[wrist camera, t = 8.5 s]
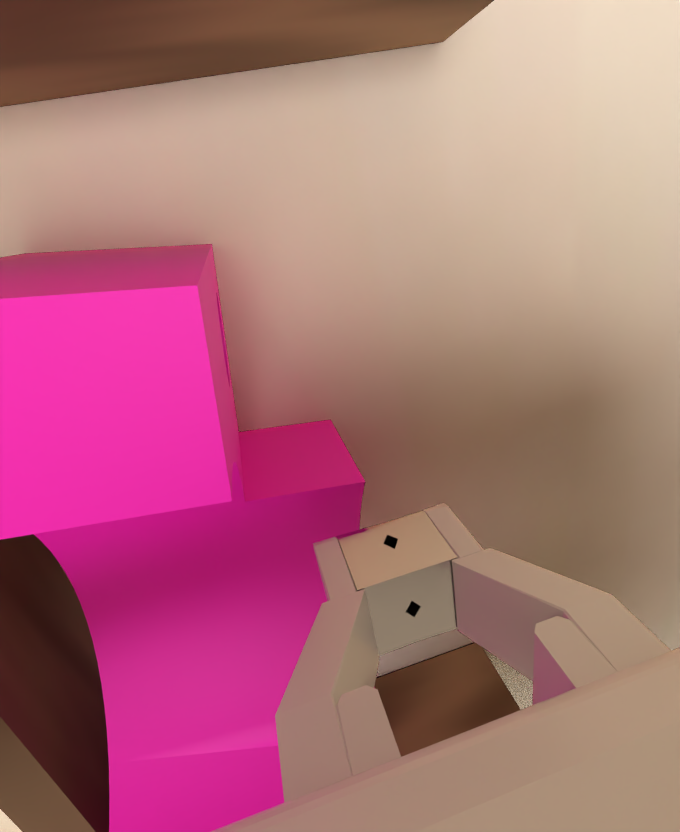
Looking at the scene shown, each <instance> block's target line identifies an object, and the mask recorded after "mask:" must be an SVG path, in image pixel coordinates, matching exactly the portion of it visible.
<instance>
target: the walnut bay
mask: <svg viewBox="0 0 680 832" xmlns="http://www.w3.org/2000/svg"><path fill="white" fill-rule="evenodd" d="M493 1H494V0H0V106H7V105H14V104H21V103H27V102H34V101H41V100H48V99H55V98H62V97H69V96H75V95H82V94H89V93H96V92H103V91H110V90H116V89H123V88H130V87H137V86H144V85H151V84H157V83H164V82H171V81H178V80H185V79H192V78H198V77H205V76H212V75H219V74H226V73H233V72H240V71H246V70H253V69H260V68H267V67H274V66H281V65H287V64H294V63H301V62H308V61H315V60H322V59H328V58H335V57H342V56H349V55H356V54H363V53H369V52H376V51H383V50H390V49H397V48H404V47H410V46H417V45H424V44H431V43H438V42H443V41H444V40H446V39H447V38H448V37H449V36H451V35H452V34H453V33H454V32H456V31H457V30H458V29H459V28H460V27H462V26H463V25H464V24H465V23H467V22H468V21H469V20H470V19H472V18H473V17H474V16H475V15H476V14H478V13H479V12H480V11H481V10H483V9H484V8H485V7H486V6H488V5H489V4H490V3H491V2H493ZM374 687H375V689H378V692H379V695H380V698H381V701H382V704H383V707H384V709H385V712H386V715H387V718H388V721H389V724H390V727H391V729H392V732H393V735H394V738H395V741H396V744H397V746H398V749H399V752H400V755H401V757H402V756H405V755H407V754H410V753H412V752H415V751H417V750H420V749H422V748H425V747H428V746H430V745H433V744H435V743H438V742H440V741H443V740H445V739H448V738H451V737H453V736H456V735H458V734H461V733H463V732H466V731H468V730H471V729H474V728H476V727H479V726H481V725H484V724H486V723H489V722H491V721H494V720H496V719H499V718H502V717H504V716H507V715H509V714H512V713H514V712H517V711H519V710H520V708H519V706H518V705H517V703H516V702H515V700H514V698H513V697H512V695H511V693H510V692H509V690H508V689H507V687H506V685H505V684H504V682H503V680H502V679H501V677H500V676H499V674H498V672H497V671H496V669H495V667H494V666H493V664H492V663H491V661H490V659H489V658H488V656H487V654H486V653H485V651H484V650H483V648H482V647H481V646H480V645H478V644H477V643H473V644H471V645H468V646H465V647H462V648H459V649H457V650H454V651H451V652H448V653H446V654H443V655H440V656H437V657H435V658H432V659H429V660H426V661H423V662H421V663H418V664H415V665H412V666H410V667H407V668H404V669H401V670H399V671H396V672H393V673H390V674H387V675H385V676H382V677H379V678H376V680H375V686H374ZM0 809H1V810H2V811H3V812H4V813H5V814H6V815H7V816H8V817H9V818H10V819H11V820H12V821H13V822H14V823H15V824H16V825H17V826H18V827H19V829H20V830H21V831H22V832H109V759H108V742H107V728H106V717H105V707H104V700H103V692H102V685H101V679H100V674H99V668H98V662H97V658H96V654H95V649H94V645H93V641H92V637H91V634H90V630H89V627H88V623H87V620H86V617H85V615H84V612H83V609H82V606H81V604H80V601H79V599H78V597H77V594H76V592H75V590H74V588H73V586H72V584H71V583H70V581H69V579H68V578H67V576H66V574H65V572H64V571H63V569H62V567H61V566H60V564H59V562H58V561H57V559H56V558H55V556H54V555H53V554H52V552H51V551H50V550H49V549H48V548H47V547H46V546H45V545H44V544H43V543H42V541H41V540H40V539H39V538H37V537H36V536H35V535H34V534H31V535H25V536H19V537H13V538H7V539H1V540H0Z"/></svg>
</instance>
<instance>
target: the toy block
mask: <svg viewBox="0 0 680 832" xmlns="http://www.w3.org/2000/svg"><path fill="white" fill-rule="evenodd" d="M364 485H365V480H364V478H363V477H362V475H361V473H360V471H359V469H358V468H357V466H356V464H355V462H354V461H353V459H352V457H351V455H350V453H349V452H348V450H347V448H346V446H345V444H344V443H343V441H342V439H341V437H340V436H339V434H338V432H337V430H336V428H335V427H334V425H333V423H332V421H331V420H324V421H316V422H309V423H301V424H294V425H287V426H279V427H272V428H264V429H257V430H250V431H242V432H239V430H238V423H237V416H236V409H235V402H234V395H233V389H232V382H231V375H230V368H229V361H228V354H227V347H226V340H225V333H224V326H223V319H222V312H221V305H220V298H219V291H218V284H217V277H216V270H215V263H214V256H213V249H212V244H203V245H183V246H164V247H144V248H124V249H104V250H85V251H65V252H45V253H25V254H19V255H13V256H7V257H1V258H0V540H1V539H7V538H13V537H19V536H25V535H31V534H34V535H35V536H36V537H37V538H39V539H40V540H41V541H42V543H43V544H44V545H45V546H46V547H47V548H48V549H49V550H50V551H51V552H52V554H53V555H54V556H55V558H56V559H57V561H58V562H59V563H60V565H61V566H62V568H63V569H64V571H65V573H66V575H67V576H68V578H69V580H70V582H71V583H72V586H73V588H74V590H75V592H76V594H77V597H78V599H79V601H80V604H81V606H82V609H83V612H84V615H85V617H86V620H87V623H88V627H89V630H90V634H91V637H92V641H93V645H94V649H95V654H96V658H97V662H98V668H99V674H100V679H101V685H102V692H103V700H104V707H105V717H106V728H107V742H108V759H109V832H211V831H213V830H216V829H218V828H221V827H224V826H226V825H229V824H231V823H234V822H236V821H239V820H241V819H244V818H246V817H249V816H252V815H254V814H257V813H259V812H262V811H264V810H267V809H269V808H272V807H274V806H277V805H280V804H282V803H284V794H283V785H282V776H281V766H280V757H279V747H278V738H277V729H276V719H275V715H276V712H277V710H278V707H279V705H280V703H281V700H282V698H283V695H284V693H285V691H286V688H287V686H288V683H289V681H290V679H291V676H292V674H293V671H294V669H295V667H296V664H297V662H298V659H299V657H300V655H301V652H302V650H303V647H304V645H305V643H306V640H307V638H308V635H309V633H310V631H311V628H312V626H313V624H314V621H315V619H316V616H317V614H318V612H319V609H320V607H321V604H322V603H324V602H327V598H326V594H325V590H324V586H323V582H322V579H321V575H320V571H319V567H318V563H317V559H316V555H315V551H314V547H313V543H316V542H319V541H323V540H326V539H329V538H333V537H336V536H339V535H342V534H346V533H349V532H353V531H356V530H359V526H360V511H361V503H362V496H363V490H364ZM374 688H375V687H374Z"/></svg>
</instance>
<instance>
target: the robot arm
mask: <svg viewBox="0 0 680 832" xmlns="http://www.w3.org/2000/svg"><path fill="white" fill-rule="evenodd" d="M313 547H314V551H315V555H316V559H317V563H318V567H319V571H320V575H321V579H322V582H323V586H324V590H325V594H326V598H327V602H324V603H322V604H321V607H320V609H319V612H318V614H317V616H316V619H315V621H314V624H313V626H312V628H311V631H310V633H309V635H308V638H307V640H306V643H305V645H304V647H303V650H302V652H301V655H300V657H299V659H298V662H297V664H296V667H295V669H294V671H293V674H292V676H291V679H290V681H289V683H288V686H287V688H286V691H285V693H284V695H283V698H282V700H281V703H280V705H279V707H278V710H277V712H276V715H275V719H276V729H277V738H278V747H279V757H280V766H281V776H282V785H283V794H284V803H282V804H280V805H277V806H274V807H272V808H269V809H267V810H264V811H262V812H259V813H257V814H254V815H252V816H249V817H246V818H244V819H241V820H239V821H236V822H234V823H231V824H229V825H226V826H224V827H221V828H218V829H216V830H213V831H211V832H680V648H677V649H675V650H672V651H671V650H670V649H669V648H668V647H667V646H666V645H665V644H664V643H663V642H662V641H661V640H659V639H658V638H657V637H656V636H655V635H654V634H653V633H652V632H651V631H650V630H649V629H648V628H647V627H646V626H645V625H644V624H643V623H642V622H640V621H639V620H638V619H637V618H636V617H635V616H634V615H633V614H632V613H631V612H630V611H629V610H628V609H627V608H626V607H625V606H624V605H623V604H622V603H620V602H619V601H618V600H617V599H616V598H615V597H614V596H613V595H612V594H609V593H607V592H604V591H602V590H599V589H596V588H594V587H591V586H589V585H586V584H583V583H581V582H578V581H576V580H573V579H571V578H568V577H565V576H563V575H560V574H558V573H555V572H552V571H550V570H547V569H545V568H542V567H539V566H537V565H534V564H532V563H529V562H526V561H524V560H521V559H519V558H516V557H513V556H511V555H508V554H506V553H503V552H500V551H498V550H495V549H493V548H488V549H485V550H484V549H483V548H482V547H481V546H480V544H479V543H478V542H477V541H476V539H475V538H474V537H473V536H472V535H471V533H470V532H469V531H468V530H467V529H466V527H465V526H464V525H463V524H462V522H461V521H460V520H459V519H458V518H457V516H456V515H455V514H454V513H453V511H452V510H451V509H450V508H449V507H448V505H446V504H444V503H442V504H439V505H436V506H433V507H430V508H427V509H424V510H422V511H419V512H416V513H413V514H410V515H406V516H403V517H400V518H397V519H394V520H391V521H387V522H384V523H381V524H377V525H374V526H370V527H367V528H363V529H360V530H356V531H353V532H349V533H346V534H342V535H339V536H336V537H333V538H329V539H326V540H323V541H319V542H316V543H313ZM457 628H458V631H459V632H460V633H462V634H463V635H465V636H466V637H468V638H469V639H471V640H472V641H474V642H475V643H477V644H478V645H480V646H481V647H483V648H484V649H486V650H487V651H489V652H490V653H492V654H493V655H494V656H496V657H497V658H499V659H500V660H502V661H503V662H505V663H506V664H508V665H509V666H511V667H512V668H514V669H515V670H517V671H518V672H520V673H521V674H523V675H524V676H526V677H527V678H528V679H530V680H531V681H533V705H532V706H530V707H527V708H524V709H522V710H519V711H517V712H514V713H512V714H509V715H507V716H504V717H502V718H499V719H496V720H494V721H491V722H489V723H486V724H484V725H481V726H479V727H476V728H474V729H471V730H468V731H466V732H463V733H461V734H458V735H456V736H453V737H451V738H448V739H445V740H443V741H440V742H438V743H435V744H433V745H430V746H428V747H425V748H422V749H420V750H417V751H415V752H412V753H410V754H407V755H405V756H402V757H401V755H400V752H399V749H398V746H397V744H396V741H395V738H394V735H393V732H392V729H391V727H390V724H389V721H388V718H387V715H386V712H385V709H384V707H383V704H382V701H381V698H380V695H379V692H378V689H375V688H374V686H375V680H376V675H377V670H378V665H379V656H381V655H384V654H386V653H389V652H391V651H394V650H396V649H399V648H402V647H404V646H407V645H409V644H412V643H414V642H417V641H420V640H423V639H426V638H429V637H433V636H436V635H439V634H442V633H445V632H448V631H451V630H454V629H457Z"/></svg>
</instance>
